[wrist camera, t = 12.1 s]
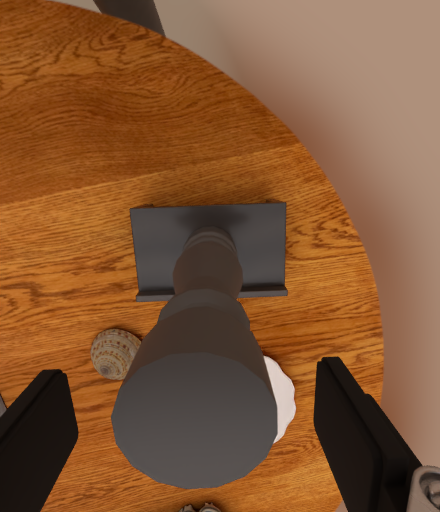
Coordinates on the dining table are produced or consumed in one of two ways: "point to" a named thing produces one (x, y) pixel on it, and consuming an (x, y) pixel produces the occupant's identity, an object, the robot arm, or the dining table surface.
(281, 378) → the plate
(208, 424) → the candle holder
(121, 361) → the seashell
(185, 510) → the golf shoe
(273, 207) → the block with raised lip
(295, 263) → the dining table surface
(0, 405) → the half round rod
